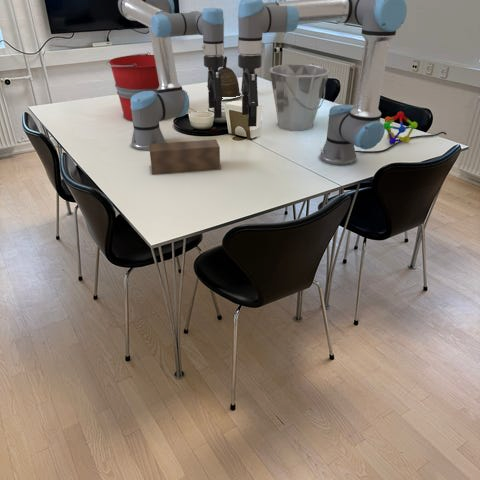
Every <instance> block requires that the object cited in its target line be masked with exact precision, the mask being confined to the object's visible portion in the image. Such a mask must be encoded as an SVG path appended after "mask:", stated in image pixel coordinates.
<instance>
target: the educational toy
mask: <svg viewBox="0 0 480 480" xmlns="http://www.w3.org/2000/svg"><path fill="white" fill-rule="evenodd" d="M397 119H399V124H400V125H399V127H398V126H393V125H391V124H392V123H394V122H395V121H396V120H397ZM403 120H404V121H405V122H407V123H408V124H409V125H407V126H404V123H403ZM382 124H383V126H384V129H385V130H386V132H387V138H388V142H389V145H394V144H395V143H397V142H399V141H402V142H404V143H409V142H410V140H411V139H410V137H411V134H412V132H413V131H414V130H415V129H417V127H418V122H417V121H411V120H410V119H409V118H408V117H406V116H405V113H404V112H403V111H401V110H400V111H398V112H397V114H396V115H394V116H391V117H390V116H386V117H385V118H384V122H383V123H382ZM392 129H393V130H397V131H398V132H396V134H395V133H394V132H392ZM408 129H409V131H408V133H407V134H406V135H404V136H401V134H403V133H405V132H406V130H408ZM399 135H400V136H399Z"/></svg>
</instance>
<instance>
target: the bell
mask: <svg viewBox="0 0 480 480" xmlns="http://www.w3.org/2000/svg"><path fill="white" fill-rule="evenodd" d="M227 63H228V57H227V56H224V66H223V67H220V68H218V71H219V72H220V73H221V89H222V97H236V96H240V95H241V96H242V92H240V91H241V90H240V83H239V80H238V79H239V78H238V77H237V75H236V73H235V72H234V70H232V69H231V68H230V67H227Z"/></svg>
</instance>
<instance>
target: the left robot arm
mask: <svg viewBox="0 0 480 480" xmlns="http://www.w3.org/2000/svg"><path fill="white" fill-rule="evenodd" d="M117 7H118V11H119V12H120V14H121V15H122V16H123V17H124V18H125V19H126V20H129V21H133V22H136V21H137V22H138V23H140V24H142V25H144V26H145V27H147V28H148V30H149V31H148V32H149V37H150V42H151V47H152V52H153V55H154V59H155V64H156V70H157V75H158V81H159V87H158V88H157V94H156V92H154V91H143V92H139V93H136V94H135V95H133V96H132V97H131V111H132V118H133V121H132V125H133V132H132V135H131V142H130V143H131V147H132V148H134V149H135V150H141V151H150V149H149V144H154V143H166V140H165V137H164V135H163V132H162V130H161V127H160V121H164V120H171V119H178V118H180V117H184V116H186V115H187V114H188V113H189V112H188V111H189V109H190V97H189V94H188V92H187V91H186V90H185V89H183V86H182V84H180V83H179V81H178V75H177V69H176V63H175V62H176V61H175V57H174V50H173V45H172V38H173V37H184V36H185V37H186V36H202V43H203V45H202V46H201V49H202V50H203V55H204V56H203V66H204V67H205V68H207V84H206V85H207V86H206V88H207V91H208V92H207V93H208V109H213V118H214V119H221V118H222V117H223V116H222V99H223V98H222V89H221V73H220V72H219V71H218V70H219V69H220V68H223V66H224V57H225V56H224V54H225V42H224V40H225V19H224V10H223V9H222V8H220V7H204V8H203V9H202V11H198V10H194V11H193V10H191V11H188V12H177V13H176V12H175V3H174V0H118V1H117Z"/></svg>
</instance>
